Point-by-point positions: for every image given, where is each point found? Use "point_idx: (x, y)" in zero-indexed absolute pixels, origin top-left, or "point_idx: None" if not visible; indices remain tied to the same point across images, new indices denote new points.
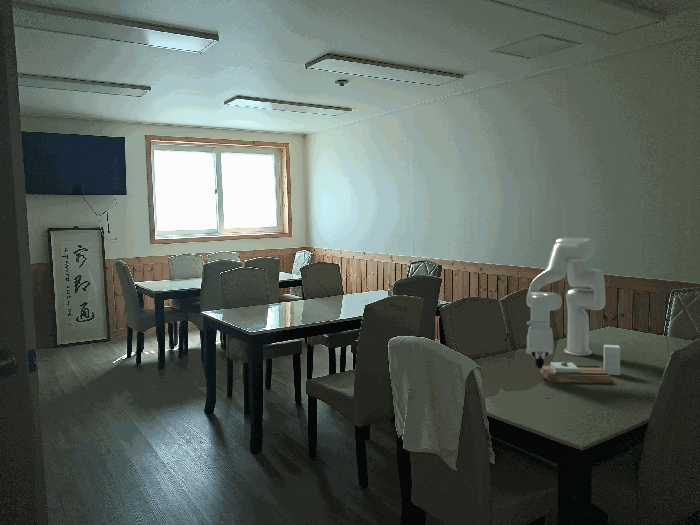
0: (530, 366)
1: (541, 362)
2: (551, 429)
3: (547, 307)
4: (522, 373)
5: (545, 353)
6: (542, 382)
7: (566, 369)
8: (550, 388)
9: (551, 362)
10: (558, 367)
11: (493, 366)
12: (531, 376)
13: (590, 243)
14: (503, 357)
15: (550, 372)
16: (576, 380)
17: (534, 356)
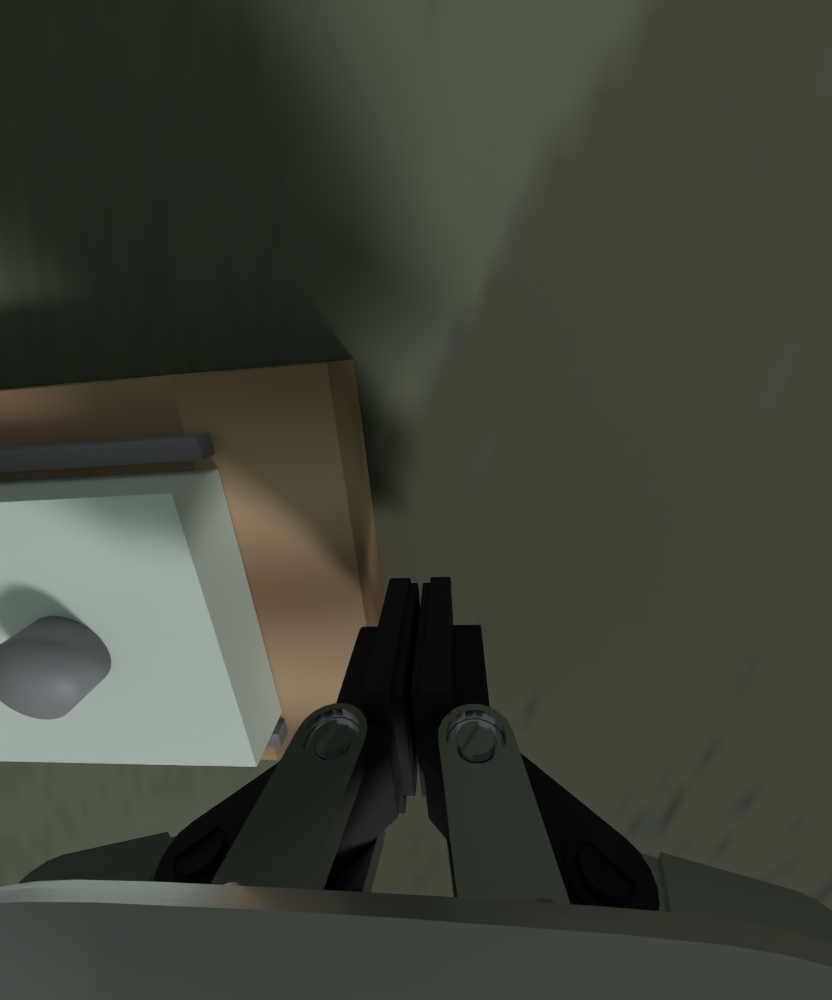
0: None
1: (389, 637)
2: None
3: None
4: (589, 645)
5: (231, 866)
6: (427, 332)
7: (25, 494)
8: (350, 11)
9: (242, 757)
10: (134, 544)
11: (820, 819)
12: (515, 556)
13: None
14: None
15: (288, 493)
16: (16, 388)
17: (544, 775)
